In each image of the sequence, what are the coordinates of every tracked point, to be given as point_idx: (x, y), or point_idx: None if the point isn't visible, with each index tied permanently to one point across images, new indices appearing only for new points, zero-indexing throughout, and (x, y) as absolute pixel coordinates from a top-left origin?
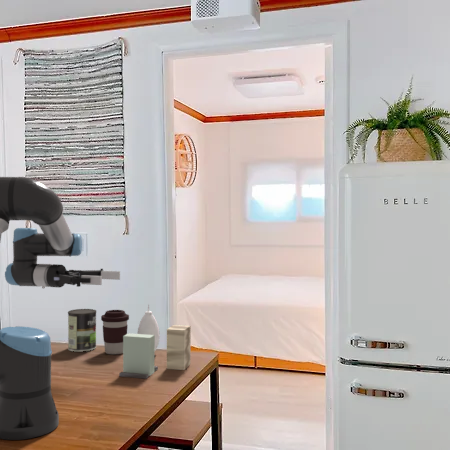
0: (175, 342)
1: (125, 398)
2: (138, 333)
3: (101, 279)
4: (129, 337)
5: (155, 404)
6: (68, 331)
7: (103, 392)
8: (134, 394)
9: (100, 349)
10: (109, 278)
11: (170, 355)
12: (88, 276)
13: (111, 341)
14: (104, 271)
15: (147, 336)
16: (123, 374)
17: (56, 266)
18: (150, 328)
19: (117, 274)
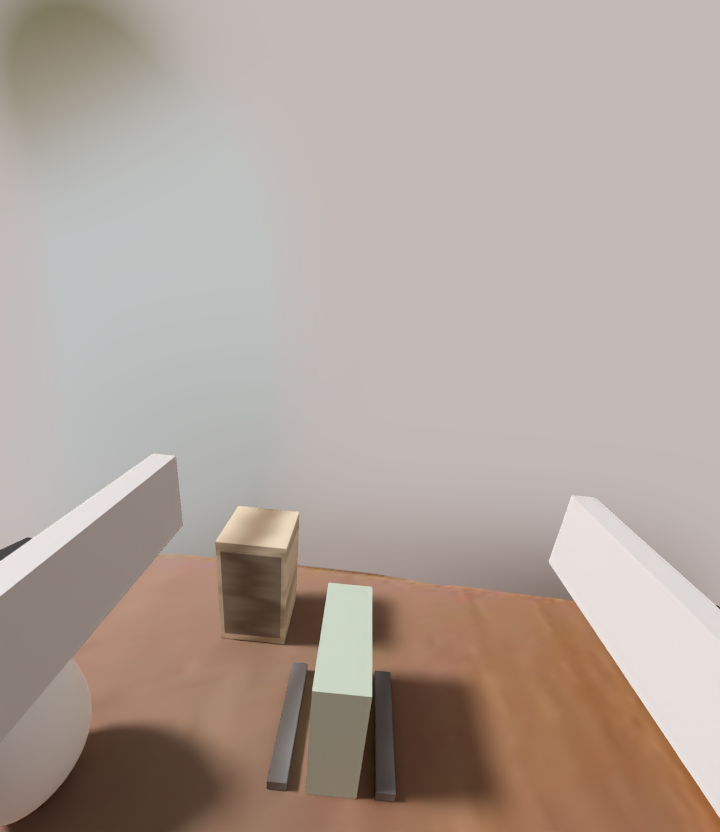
0: (292, 560)
1: (556, 687)
2: (9, 774)
3: (565, 523)
4: (371, 667)
5: (536, 610)
6: None
7: (570, 789)
8: (517, 672)
9: None
10: (108, 603)
11: (288, 603)
12: (712, 614)
13: None
14: (9, 594)
15: (355, 598)
16: (394, 772)
17: None
18: (71, 670)
19: (169, 491)
